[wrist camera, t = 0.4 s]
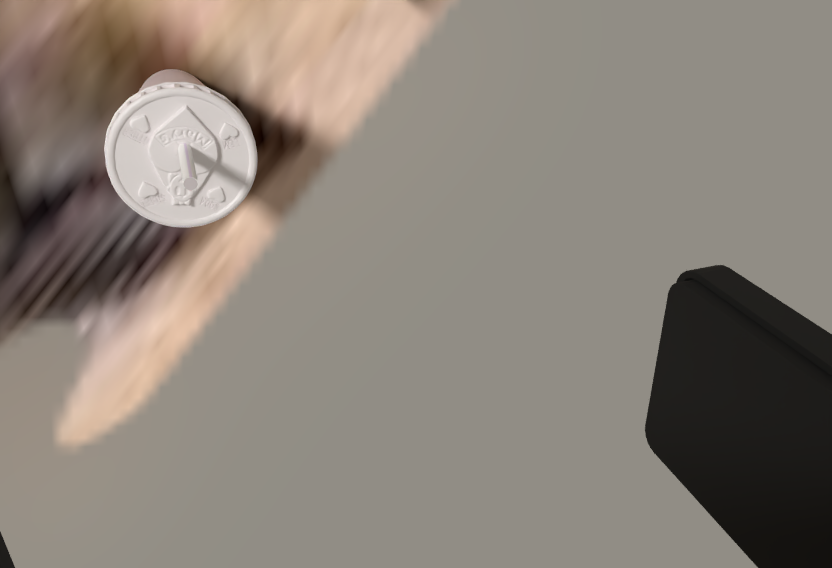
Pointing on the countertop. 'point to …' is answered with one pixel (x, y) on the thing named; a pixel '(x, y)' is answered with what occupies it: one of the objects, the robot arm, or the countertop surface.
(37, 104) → the countertop surface
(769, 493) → the robot arm
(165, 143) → the smoothie
